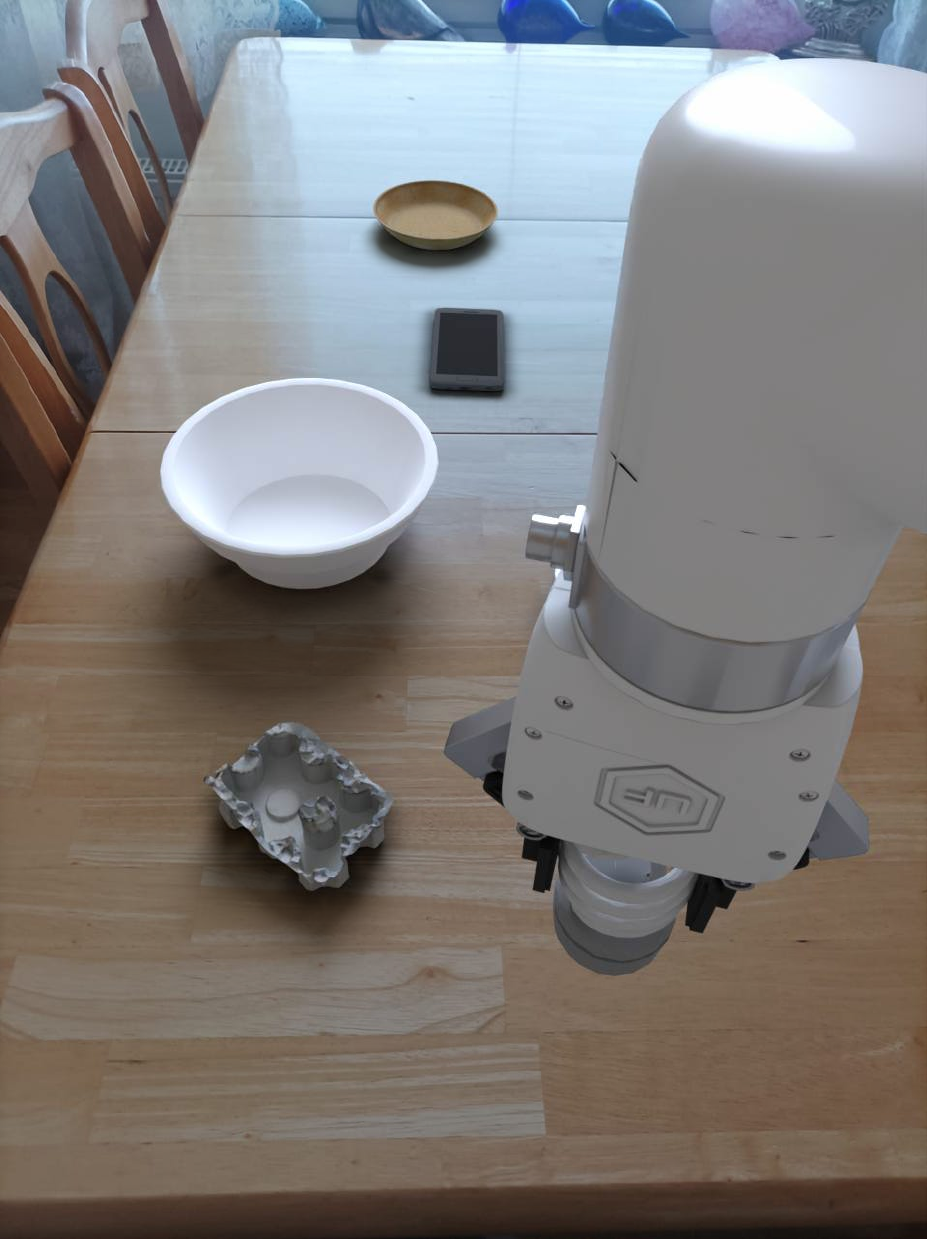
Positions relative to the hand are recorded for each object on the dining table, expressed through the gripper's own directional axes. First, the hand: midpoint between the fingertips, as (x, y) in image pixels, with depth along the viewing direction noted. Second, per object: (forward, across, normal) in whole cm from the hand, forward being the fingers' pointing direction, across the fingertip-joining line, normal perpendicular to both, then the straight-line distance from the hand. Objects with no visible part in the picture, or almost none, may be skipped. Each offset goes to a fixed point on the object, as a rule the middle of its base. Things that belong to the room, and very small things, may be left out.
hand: (621, 877), depth 39 cm
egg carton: (+18, -19, +8) cm, 27 cm away
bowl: (+17, -28, +32) cm, 47 cm away
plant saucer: (+17, -33, +86) cm, 94 cm away
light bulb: (+7, 0, 0) cm, 7 cm away
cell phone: (+17, -23, +62) cm, 69 cm away
